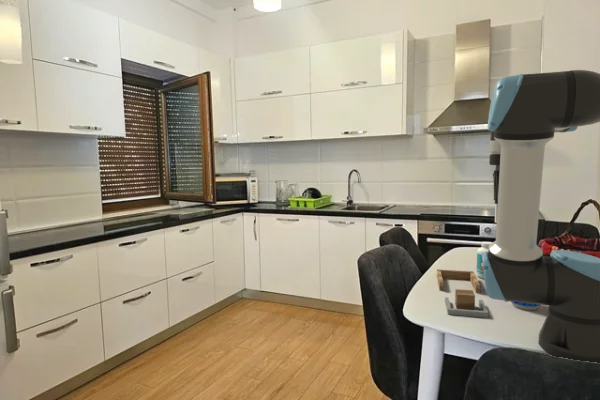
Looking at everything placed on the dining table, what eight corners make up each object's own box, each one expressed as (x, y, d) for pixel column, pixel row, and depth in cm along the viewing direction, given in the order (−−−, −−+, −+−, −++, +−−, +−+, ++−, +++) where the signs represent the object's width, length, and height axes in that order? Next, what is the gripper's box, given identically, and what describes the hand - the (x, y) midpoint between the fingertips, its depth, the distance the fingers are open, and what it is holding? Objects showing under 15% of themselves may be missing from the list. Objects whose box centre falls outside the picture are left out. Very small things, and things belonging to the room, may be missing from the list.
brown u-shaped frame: (479, 293, 133) (480, 284, 133) (439, 290, 136) (439, 282, 136) (472, 279, 148) (473, 271, 148) (436, 276, 152) (436, 269, 151)
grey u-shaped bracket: (488, 317, 113) (488, 312, 112) (447, 314, 116) (447, 309, 116) (482, 304, 123) (482, 300, 122) (444, 301, 126) (445, 297, 126)
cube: (474, 311, 118) (475, 295, 117) (456, 310, 119) (457, 294, 118) (472, 305, 122) (472, 290, 122) (455, 304, 124) (455, 289, 123)
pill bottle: (496, 281, 145) (497, 245, 144) (475, 278, 149) (476, 243, 148) (498, 275, 152) (499, 241, 150) (477, 273, 156) (478, 240, 154)
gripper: (520, 152, 124) (517, 226, 126) (509, 153, 136) (506, 219, 139) (494, 153, 126) (491, 225, 128) (485, 153, 138) (483, 219, 141)
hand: (499, 222), depth 134 cm, fingers closed
